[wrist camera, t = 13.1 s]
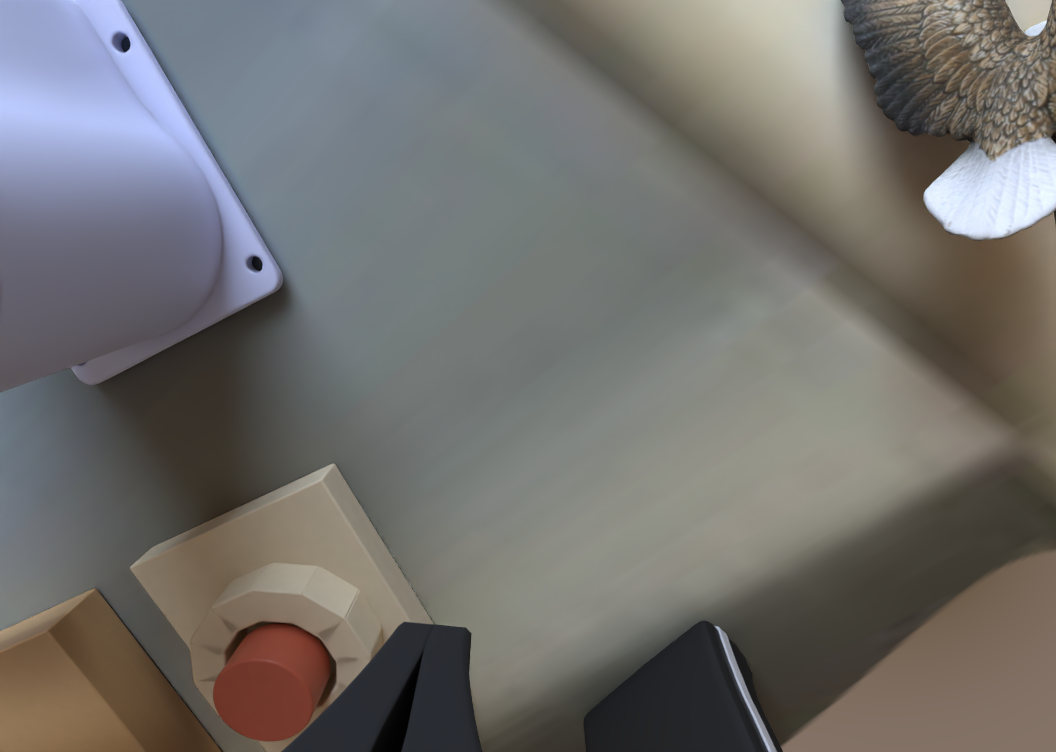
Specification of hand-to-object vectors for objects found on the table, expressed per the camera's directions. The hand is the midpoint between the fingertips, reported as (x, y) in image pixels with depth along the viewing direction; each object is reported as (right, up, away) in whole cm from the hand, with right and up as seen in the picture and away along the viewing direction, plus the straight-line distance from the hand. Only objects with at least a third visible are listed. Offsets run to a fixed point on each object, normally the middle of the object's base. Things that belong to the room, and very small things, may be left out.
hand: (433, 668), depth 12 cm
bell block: (-6, -3, +12) cm, 14 cm away
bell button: (-6, -4, +9) cm, 12 cm away
